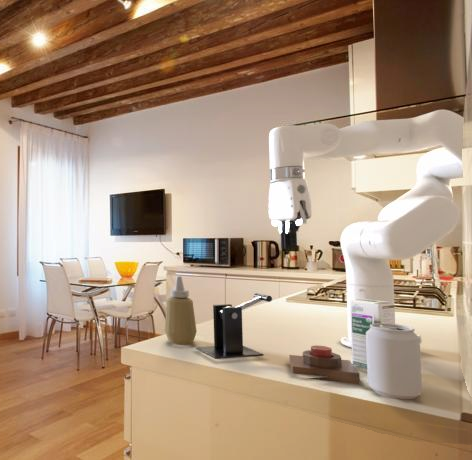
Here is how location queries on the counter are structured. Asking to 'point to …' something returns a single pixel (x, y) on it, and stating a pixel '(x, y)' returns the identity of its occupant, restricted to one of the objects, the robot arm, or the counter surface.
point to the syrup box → (367, 324)
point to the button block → (325, 368)
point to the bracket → (228, 334)
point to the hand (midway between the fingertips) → (289, 248)
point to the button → (321, 351)
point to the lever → (251, 302)
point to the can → (393, 360)
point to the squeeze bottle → (180, 316)
